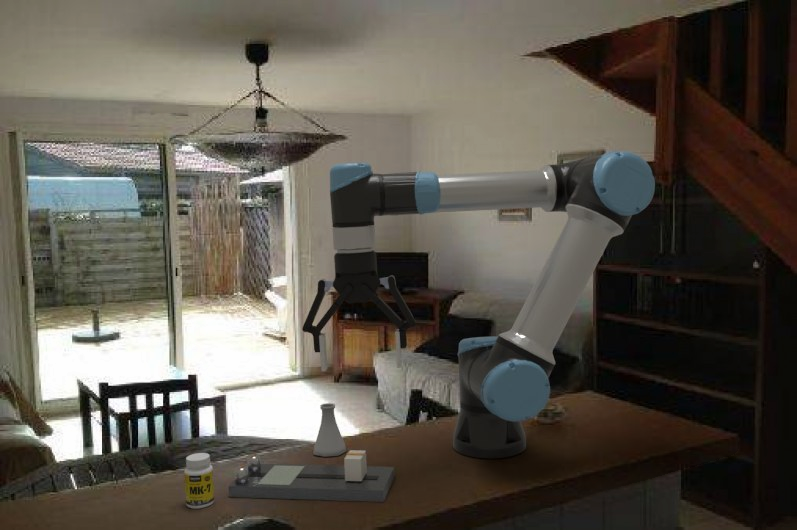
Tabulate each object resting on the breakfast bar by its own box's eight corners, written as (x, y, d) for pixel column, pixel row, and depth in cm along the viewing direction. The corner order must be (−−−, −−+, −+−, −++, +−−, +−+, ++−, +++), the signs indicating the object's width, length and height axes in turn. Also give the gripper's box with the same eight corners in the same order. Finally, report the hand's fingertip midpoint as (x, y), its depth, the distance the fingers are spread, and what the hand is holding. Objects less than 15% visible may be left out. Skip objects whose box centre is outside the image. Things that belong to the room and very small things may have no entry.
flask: (341, 458, 139) (339, 410, 139) (307, 457, 141) (305, 409, 140) (351, 446, 146) (349, 400, 146) (318, 445, 148) (316, 400, 147)
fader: (366, 471, 126) (365, 449, 125) (361, 481, 121) (360, 458, 121) (350, 471, 126) (349, 449, 126) (345, 480, 122) (344, 457, 121)
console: (394, 477, 128) (393, 453, 128) (383, 502, 117) (382, 475, 117) (252, 473, 133) (250, 450, 133) (229, 496, 122) (227, 471, 122)
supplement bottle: (187, 511, 117) (184, 463, 116) (184, 501, 121) (181, 454, 120) (216, 505, 119) (213, 458, 118) (212, 495, 123) (209, 450, 122)
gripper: (424, 246, 126) (430, 360, 127) (289, 253, 126) (296, 366, 128) (425, 248, 118) (431, 369, 120) (281, 255, 119) (289, 376, 121)
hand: (361, 368), depth 124 cm, fingers open, 13 cm apart
